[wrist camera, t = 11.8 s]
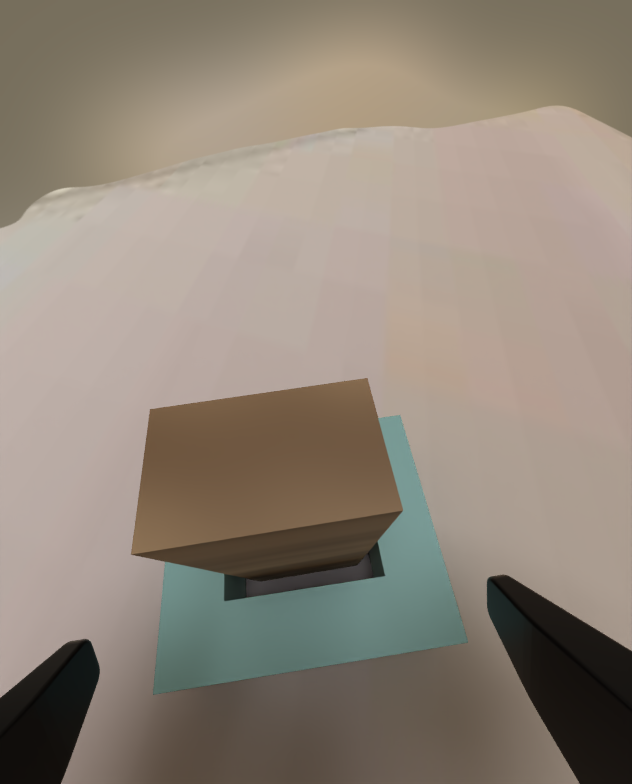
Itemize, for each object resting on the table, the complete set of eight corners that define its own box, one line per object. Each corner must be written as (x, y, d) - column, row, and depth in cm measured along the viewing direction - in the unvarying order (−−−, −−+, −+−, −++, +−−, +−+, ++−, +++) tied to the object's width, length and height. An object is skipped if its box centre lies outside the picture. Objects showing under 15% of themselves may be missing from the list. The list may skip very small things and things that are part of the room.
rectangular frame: (438, 632, 16) (468, 642, 12) (192, 672, 15) (152, 694, 12) (388, 444, 21) (400, 415, 17) (201, 471, 20) (175, 446, 17)
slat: (356, 565, 17) (403, 510, 6) (260, 581, 17) (131, 554, 6) (345, 506, 19) (367, 377, 8) (257, 520, 19) (150, 409, 8)
